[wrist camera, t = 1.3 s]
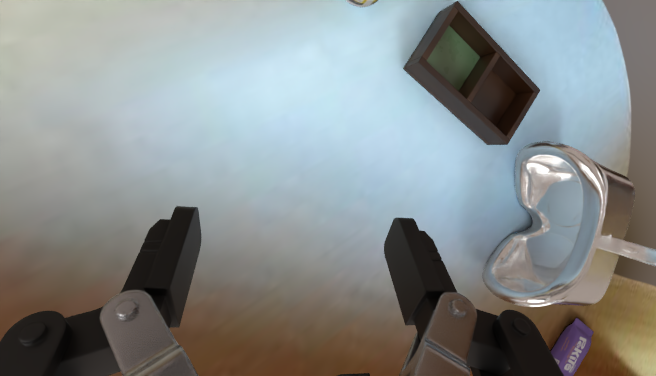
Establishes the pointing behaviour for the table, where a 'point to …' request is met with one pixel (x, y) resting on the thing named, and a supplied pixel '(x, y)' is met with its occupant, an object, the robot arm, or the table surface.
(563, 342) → the snack package
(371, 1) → the supplement bottle
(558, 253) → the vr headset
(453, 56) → the divided box
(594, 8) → the table surface
